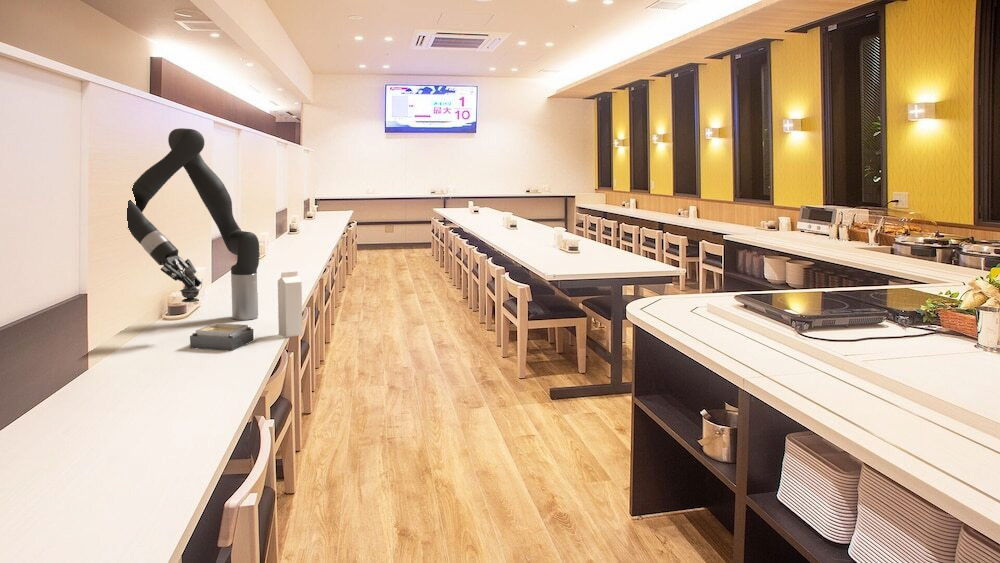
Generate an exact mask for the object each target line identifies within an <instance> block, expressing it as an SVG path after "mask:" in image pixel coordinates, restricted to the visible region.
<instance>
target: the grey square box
mask: <svg viewBox="0 0 1000 563" xmlns="http://www.w3.org/2000/svg"><path fill="white" fill-rule="evenodd" d="M253 340H254V328H252V327H251V326H249V325H248V324H236V323H235V324H234V323H217V322H215V323H212V324H210V325H207V326H204V327H201V328H199V329H196V330H195V332H194V333H193V332H192V334H191V335H190V336H189V343H190V344H189V346H190V347H189V348H190V349H195V348H198V349H199V350H210V349H211V350H213V351H226V350H228V351H227V352H229V351H230V352H232V351H235V350H236V349H239V348H241V347H243V346H245V344H246V345H247V343H248V344H250V343H251V341H252V342H254V341H253ZM249 342H250V343H249Z"/></svg>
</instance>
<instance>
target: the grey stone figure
mask: <svg viewBox="0 0 1000 563" xmlns="http://www.w3.org/2000/svg"><path fill="white" fill-rule="evenodd" d="M183 271H185V275H186V277H188V278H189V279H190V280H191V281H192V282H193V283H194V286H193V287H192V288H191V289H188V288H187V286H186V285H185V284H184V287H183V289H180V290H179V291H180V292H181V295H182V297H183V298H184V299H182V300H181V302H182V303H197V302H199V301H200V299H199V298H197V297H198V296H199V294H200V290H201V289H200V288H198V287H196V286H195V279H196V278H194V269H193V268H191V267H190V265H188V268H186V269H184V270H183Z"/></svg>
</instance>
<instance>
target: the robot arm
mask: <svg viewBox="0 0 1000 563" xmlns="http://www.w3.org/2000/svg"><path fill="white" fill-rule="evenodd" d="M167 140H168V146H169V148H170V149H171V150H170V151H169V152H168V153H167V154H166V155H164V157H162V158H161V159H160V160H159V161H158V162H156V163H154V164H153V165H152V166H150V167H149V168H148V169H147V170H145V171H144V172H143V173H142V174H141V175H140V176H139V177H138V178H137V179H136V180H135V181H134V182H133V184H134V185H133V184H132V185H133V188H132V191H133V194H134V197H135V201H136V205H135V204H134V203H133V202H132V201H131V200H129V201H128V208H127V221H128V228H129V229H128V228H127V229H128V231H129V230H130V231H129V232H131V233H130V234H131V235H132V237H133V238H134V239H135V241H137V242H138V243H139V245H141V247H142V248H143V249H144V250H145V252H146V253H147V254H148V255H149V256H150V257H151V259H152V260H154V261H155V262H156V263H157V265H158V266H162V267H161V268H160V271H161V272H163V273H164V274H165V275H167V276H168V277H170V278H171V279H172V280H174V281H179V282H182V283H183V284H184V286H185V285H186V286H187V288H188V289H191V288H192V287H193V286H194V283H193V282H192V281H191V280H190V279H189V278H188V277H186V275H185V271H184V270H185V269H186V268H188V265H190V267H191V268H193V269H194V278H196V279H195V287H196V288H198V287H200V285H201V284H202V281H201V280H200V279H199V278H198V277H197V276H196V273H197V272H198V271H197V270H196V267H194V264H193V263H192V262H191V260H190V259H189V258H187V259H183V258H182V257H180V256H179V250H178V248H177V247H176V246H175V245H174V244H173V243H172V242H171V240H169V239H168V238H167V237H166V236H165V235H164V234H163V233H162V232H161V231H160V230H159V229H157V227H156V226H155V225H154V224H153V223H152V222H151V221H150V220H149V219H148V218H147V217H146V216H145V215H144V213H143V212H144V210H145V209H146V207H147V205H148V204H149V202H150V200H152V199H153V198H154V197H155V195H157V193H158V192H159V191H160V190H161V189H162V187H163V186H164V185H166V183H167V182H168V181H169V180H170V179H171V178H172V177H173V176H174V175H176V173H178V171H179V170H181V169H182V168H184V170H185V172H186V174H187V175H188V176H189V179H190V181H191V182H192V185H193V186H194V188H195V190H196V191H197V193H198V195H199V197H200V199H201V201H202V203H203V204H204V206H205V208H206V210H207V211H208V213H209V215H210V216H211V218H212V219H213V222H214V223H215V225H216V227H217V229H218V230H219V233H220V235H221V239H223V242H224V245H225V246H226V247H225V248H227V250H228V251H229V252H230V254H233V255H236V256H237V258H236V260H237V261H236V262H235V264H234V265H231V267H230V281H231V310H232V311H231V315H232V317H231V318H232V319H233V320H235V321H236V320H238V321H244V320H246V321H247V320H248V321H249V320H254V319H258V318H259V296H258V295H259V293H258V271H257V270H258V269H259V268H258V267H259V264H260V241H259V239H258V236H257V235H256V234H255V233H253V232H251V231H243V230H242V229H241V228H240V226H239V225H238V223H237V221H236V220H235V217H234V214H233V213H234V212H233V202H232V198H231V195H230V194H229V192H228V189H227V188H226V186H225V183H224V182H223V181H222V179H221V178H220V177H219V176H218V175H217V173H215V172H214V171H213V170H212V169H211V168H210V167H209V165H208V164H207V163H206V162H205V160H204V158H203V157H202V155H201V152H202V151H203V149H204V147H205V138H204V136H203V135H202V133H201V132H200V131H198V130H196V129H194V128H193V129H192V128H181V127H180V128H175V129H173V130H171V131H170V133H169V134H168V137H167Z"/></svg>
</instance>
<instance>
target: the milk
mask: <svg viewBox="0 0 1000 563" xmlns="http://www.w3.org/2000/svg"><path fill="white" fill-rule="evenodd" d="M298 273H299V272H298V271H286V272H281V274H280V276H281V277H280V278H279V279H278V280H277V304H278V306H277V309H278V312H277V314H278V316H277V317H278V319H277V320H278V335H280V336H282V337H284V338H290V337H297V336H299V337H300V336H303V297H302V296H303V290H302V288H303V285H302V283H303V282H302V280H301V278H300V276H299V274H298Z"/></svg>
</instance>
